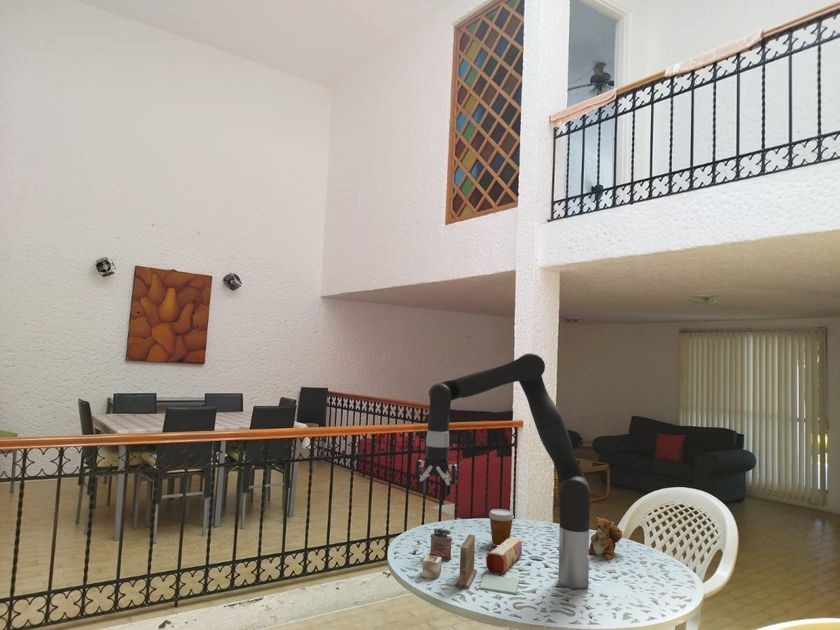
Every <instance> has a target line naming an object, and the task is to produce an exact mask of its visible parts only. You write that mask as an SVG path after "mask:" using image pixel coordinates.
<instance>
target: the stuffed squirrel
mask: <svg viewBox="0 0 840 630" xmlns="http://www.w3.org/2000/svg"><path fill="white" fill-rule="evenodd" d="M596 521H597V522H596V523H595V524H596V525H595V526H593V528H592V529H593V532H595V531H596V532H595V533H594V534H592V535H591V536H590V542H589V555H597V556H599V557H603V558H604V559H606V560H608V561H611V560H612V559H614V557H615V551H616V547H617V545H616V544H618V543H620V540H622V539H623V538H624V537H623V531H622V530H621V529H620V528H619V527H618V526H616V525H614V524H615V522H614V521H610V520H608V519H607V518H603V517H601V518H600V517H599V516H598V517H596Z"/></svg>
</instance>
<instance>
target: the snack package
mask: <svg viewBox="0 0 840 630" xmlns="http://www.w3.org/2000/svg"><path fill="white" fill-rule="evenodd" d="M522 554H523V543H522V541H521V540H520V539H518V538H512V537H510V538H508V539H506V540H505V541H504V542H503V543H501V544H500V545H499V546H496V547H495V548H494V549H493V550H491V551H489V552H488V553H487V555H486V557H485V558H486V559H485V563H486V565H485V566H486V568H487V570H488V571H489V572H490V573H493V574H498V575H502V574H504V573H505V572H506V571H507V570H508V569H509V568H510V567H511V566H512V565H513V564H514V563H515V562H516V561H517V560H518V559H519V558H520V557H522Z"/></svg>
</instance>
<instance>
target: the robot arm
mask: <svg viewBox="0 0 840 630" xmlns="http://www.w3.org/2000/svg"><path fill="white" fill-rule="evenodd" d="M545 370H546V363H545V361H544V359H543V358H542V357H541V356H540V355H539V354H537V353H533V352H532V353H525V354H523V355H521V356H519V358H516V359H515V360H512V361H510V362H508V363H504V364H502V365H499V366H495V367H493V368H488V369H486V370H485V369H484V370H481V371H477V372H474V373H469V374H466V375H462V376H460V377H457V378H455V379H449V380H446V381H442V382H438V383H435V384H433V385H432V386H431V387H430V389H429V391H428V397H429V414H428V419H427V432H426V439H425V440H426V441H425V460H422V459H418V460H416V461H415V470H414V479H416V480H418V481H419V491H420V493H421V494H425V493H426V491H427V490H426V489H427V478H428V477H429V476H432V477H433V476H434V477H438V478H439V477H441V479H442V480H444V482H445V497H447V498H449V497H450V496H451V495H452V490H453V489H452V488H453V485H455V484H457V483H458V482H459V479H458V478H459V477H458V464H457V463H454V464H450V463H449V454H450V453H449V450H450V432H449V431H450V428H449V427H450V411H451V405H452V404H451V403H452V401H453V400H458V399H465V398H470V397H473V396H477V395H479V394H482V393H485V392H488V391H490V390H493V389H495V388H496V389H497V388H498V387H501V386H504V385H507V384H511V383H515V382H518V383H519V384H520V386H521V389H522V391H523V393H524V395H525V398H526V399H527V400H526V401H527V403H528V405H529V406H528V407H529V410H530V413H531V416H532V418H533V421H534V425H535V427H536V430H537V433H538V436H539V439H540V441H541V443H542V445H543V447H544V449H545V450H546V452H547V454H548V456H549V457H550V459H551V460H552V463H553V465H554V468H555V470H556V473H557V476H558V480H559V485H560V488H559V507H558V509H559V514H558V515H559V516H558V517H559V528H558V529H559V530H558V531H559V532H558V533H559V535H558V536H559V537H558V539H559V540H558V574H557V575H558V576H557V577H558V579H557V580H558V581H557V582H558V583H559V584H561V586H564V587H566V588H570V589H580V590H581V589H589V586H590V585H589V579H590V578H589V577H590V574H589V573H590V567H589V566H590V554H589V548H590V515H591V514H590V509H591V508H590V507H591V506H590V505H591V503H590V502H591V488H590V485H589V482H588V481H587V478H586V477H585V474H584V473H583V471H582V470H581V468H580V466H579V463H578V461H577V459H576V455H575V453H574V449H573V448H574V447H573V444H572V441H571V437H570V433H569V432H568V429H567V426H566V423H565V420H564V419H563V416H562V414H561V412H560V410H559V408H558V407H557V405H556V403H555V401H554V400H553V399H552V397H551V396H550V394H549V393H548V390H547V387H546V386H545V382H544V379H543V374H544V373H545ZM423 467H424V468H425V469H426V470H425V471H424V473H422V469H423ZM448 469H449V471H450V472H451V477H450V474H449V472H448Z"/></svg>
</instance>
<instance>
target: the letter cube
mask: <svg viewBox="0 0 840 630" xmlns="http://www.w3.org/2000/svg"><path fill="white" fill-rule="evenodd" d="M442 561H443V560H442V557H435V556H430V555H429V554H428V555H425V557H424V559H422V571H421V572H422V575H421V576H422V577H424V578H425V577H426V578H430V579H431V578H432V579H438V578H439V577H440V575H441V573H442Z"/></svg>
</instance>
